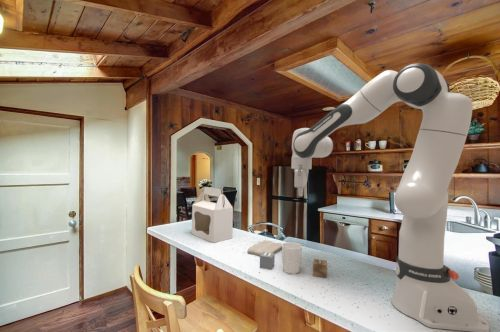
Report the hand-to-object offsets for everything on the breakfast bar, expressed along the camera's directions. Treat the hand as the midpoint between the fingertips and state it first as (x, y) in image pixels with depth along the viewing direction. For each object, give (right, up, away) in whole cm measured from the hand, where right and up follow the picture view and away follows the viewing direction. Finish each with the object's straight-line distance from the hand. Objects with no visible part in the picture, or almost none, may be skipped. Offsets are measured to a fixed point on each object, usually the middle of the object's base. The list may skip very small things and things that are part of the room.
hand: (300, 196), depth 109 cm
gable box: (-45, -27, +32) cm, 61 cm away
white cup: (-6, -29, -11) cm, 31 cm away
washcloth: (-14, -29, +11) cm, 34 cm away
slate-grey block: (-15, -28, -8) cm, 33 cm away
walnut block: (+5, -29, -14) cm, 32 cm away
